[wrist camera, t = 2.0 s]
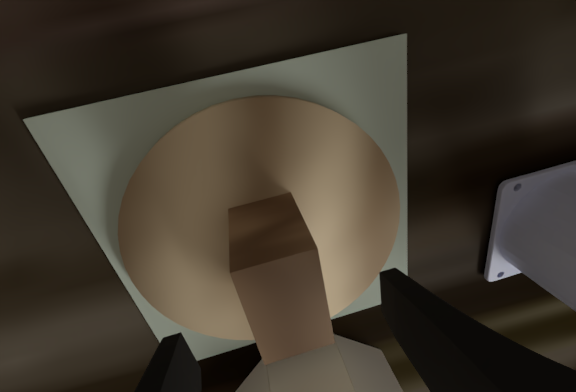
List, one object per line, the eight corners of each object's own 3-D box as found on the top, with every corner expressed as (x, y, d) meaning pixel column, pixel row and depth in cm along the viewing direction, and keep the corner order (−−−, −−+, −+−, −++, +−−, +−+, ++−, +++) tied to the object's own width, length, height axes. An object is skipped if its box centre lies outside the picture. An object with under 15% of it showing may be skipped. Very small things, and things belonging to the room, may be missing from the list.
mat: (401, 34, 13) (406, 33, 13) (404, 291, 20) (407, 295, 20) (28, 117, 12) (22, 119, 11) (175, 361, 19) (175, 367, 19)
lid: (386, 63, 13) (482, 67, 8) (393, 289, 19) (449, 367, 15) (63, 138, 12) (-51, 196, 7) (185, 352, 18) (170, 460, 13)
